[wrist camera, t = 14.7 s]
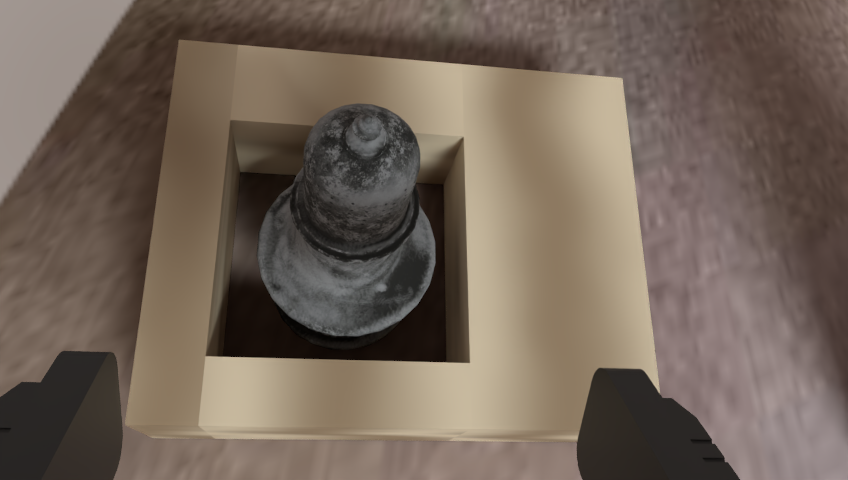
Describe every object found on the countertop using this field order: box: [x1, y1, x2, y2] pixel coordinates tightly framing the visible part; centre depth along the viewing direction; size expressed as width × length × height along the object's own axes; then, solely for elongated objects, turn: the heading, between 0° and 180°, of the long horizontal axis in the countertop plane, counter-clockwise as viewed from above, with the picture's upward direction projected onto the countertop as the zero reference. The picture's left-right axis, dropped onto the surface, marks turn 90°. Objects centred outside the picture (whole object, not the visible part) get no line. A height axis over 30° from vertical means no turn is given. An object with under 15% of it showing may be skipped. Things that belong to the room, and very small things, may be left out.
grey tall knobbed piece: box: [257, 103, 436, 350], centre depth 21 cm, size 6×6×12 cm
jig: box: [125, 40, 660, 442], centre depth 25 cm, size 16×13×4 cm
